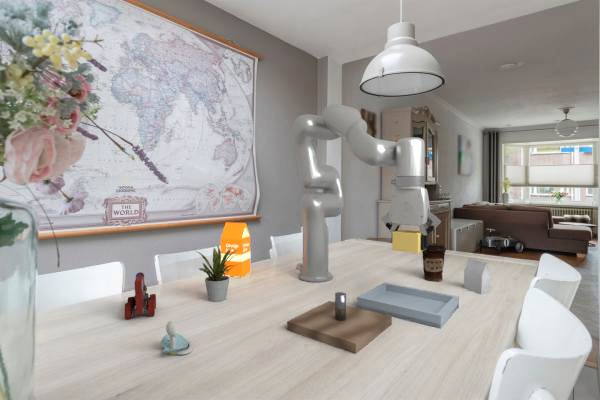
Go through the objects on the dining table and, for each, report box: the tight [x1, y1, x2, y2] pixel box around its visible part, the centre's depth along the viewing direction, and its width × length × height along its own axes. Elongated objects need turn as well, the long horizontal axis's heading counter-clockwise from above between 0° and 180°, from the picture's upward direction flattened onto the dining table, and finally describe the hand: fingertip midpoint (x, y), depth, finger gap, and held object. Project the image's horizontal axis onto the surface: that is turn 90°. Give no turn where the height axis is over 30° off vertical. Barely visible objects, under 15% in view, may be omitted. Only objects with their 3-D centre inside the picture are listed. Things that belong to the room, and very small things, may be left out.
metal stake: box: [334, 291, 347, 321], centre depth 78 cm, size 3×3×6 cm
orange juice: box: [220, 221, 251, 278], centre depth 126 cm, size 8×9×20 cm
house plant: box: [195, 244, 243, 303], centre depth 97 cm, size 14×14×16 cm
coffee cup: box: [422, 242, 447, 282], centre depth 120 cm, size 9×8×13 cm
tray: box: [356, 282, 460, 329], centre depth 91 cm, size 22×18×3 cm
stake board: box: [286, 300, 393, 354], centre depth 78 cm, size 18×18×2 cm
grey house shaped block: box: [463, 257, 491, 295], centre depth 107 cm, size 4×7×10 cm, turn 20°
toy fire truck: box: [123, 271, 157, 320], centre depth 87 cm, size 7×12×10 cm, turn 21°
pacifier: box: [160, 320, 195, 356], centre depth 67 cm, size 7×6×6 cm
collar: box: [391, 229, 426, 254], centre depth 91 cm, size 7×7×5 cm
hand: (409, 247), depth 91 cm, fingers closed on collar, 7 cm apart
